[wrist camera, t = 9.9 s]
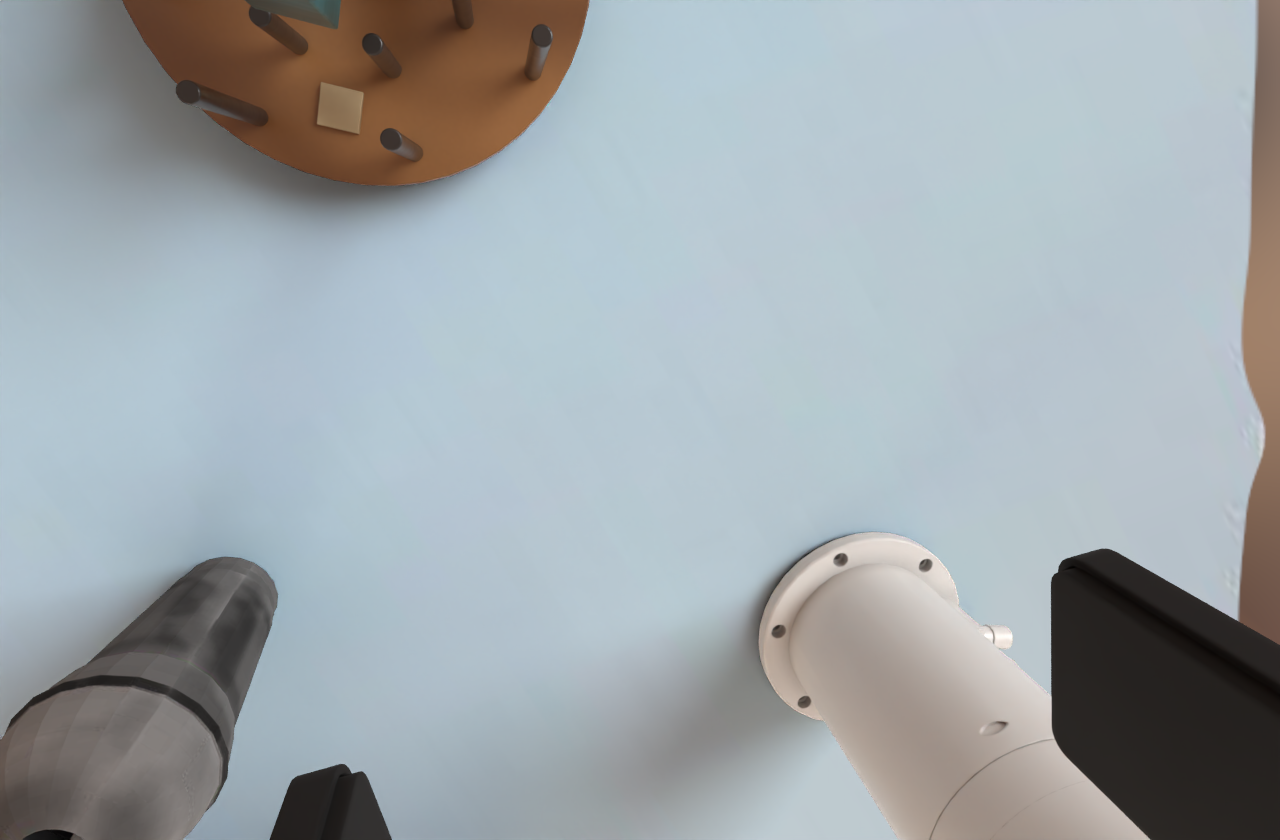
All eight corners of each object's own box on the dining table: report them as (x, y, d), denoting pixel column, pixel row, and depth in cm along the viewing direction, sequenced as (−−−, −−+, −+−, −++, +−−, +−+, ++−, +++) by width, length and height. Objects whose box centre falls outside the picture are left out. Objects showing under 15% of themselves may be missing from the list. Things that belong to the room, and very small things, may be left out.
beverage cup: (121, 559, 35) (-314, 974, 16) (270, 511, 36) (16, 857, 17) (191, 678, 38) (-118, 1159, 19) (329, 631, 38) (165, 1049, 19)
